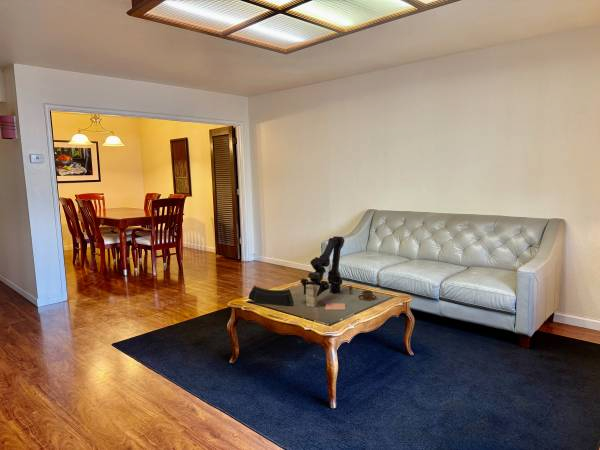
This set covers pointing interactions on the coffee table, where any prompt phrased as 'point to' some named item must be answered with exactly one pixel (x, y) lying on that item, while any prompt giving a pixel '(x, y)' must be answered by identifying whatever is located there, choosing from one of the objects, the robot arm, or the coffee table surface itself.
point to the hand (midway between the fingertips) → (310, 295)
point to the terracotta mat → (334, 306)
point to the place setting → (365, 295)
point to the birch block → (311, 295)
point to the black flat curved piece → (271, 296)
